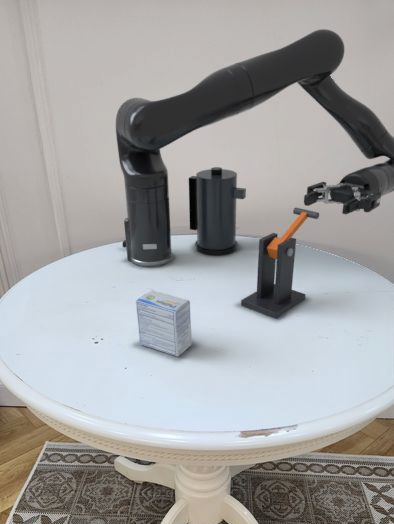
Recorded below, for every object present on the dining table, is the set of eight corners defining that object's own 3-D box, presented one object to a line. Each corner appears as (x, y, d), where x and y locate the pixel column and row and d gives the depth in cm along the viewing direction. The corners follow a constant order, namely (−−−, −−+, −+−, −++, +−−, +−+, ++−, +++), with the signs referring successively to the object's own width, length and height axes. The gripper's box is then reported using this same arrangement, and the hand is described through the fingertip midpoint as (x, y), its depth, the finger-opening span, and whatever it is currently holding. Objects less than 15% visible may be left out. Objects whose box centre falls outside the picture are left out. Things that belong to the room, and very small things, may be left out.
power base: (271, 288, 108) (275, 226, 101) (305, 299, 103) (311, 236, 96) (240, 305, 101) (242, 241, 95) (275, 318, 97) (280, 252, 90)
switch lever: (297, 213, 102) (295, 203, 100) (320, 218, 99) (318, 208, 98) (262, 255, 98) (260, 245, 96) (285, 261, 95) (283, 252, 94)
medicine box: (192, 345, 89) (191, 299, 85) (177, 358, 86) (175, 311, 82) (154, 333, 93) (151, 288, 88) (138, 345, 90) (134, 299, 85)
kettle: (183, 251, 125) (180, 171, 115) (200, 237, 133) (199, 161, 123) (235, 259, 120) (237, 176, 111) (249, 244, 128) (253, 165, 118)
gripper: (336, 164, 116) (295, 179, 106) (398, 174, 108) (361, 192, 98) (331, 198, 120) (292, 216, 110) (392, 210, 112) (355, 231, 102)
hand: (324, 204), depth 104 cm, fingers open, 8 cm apart
